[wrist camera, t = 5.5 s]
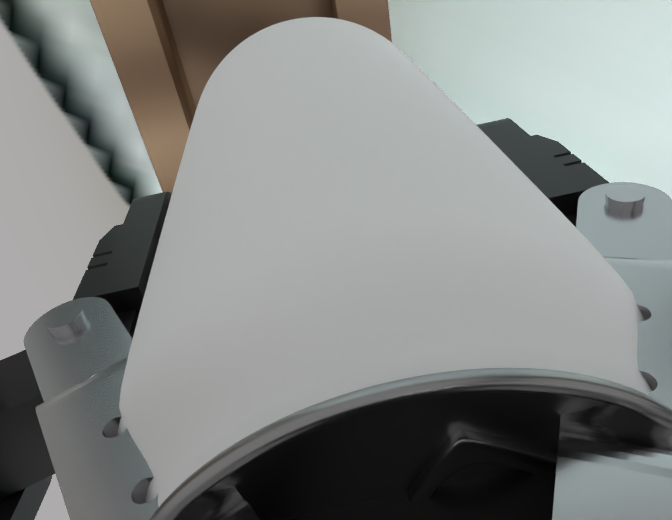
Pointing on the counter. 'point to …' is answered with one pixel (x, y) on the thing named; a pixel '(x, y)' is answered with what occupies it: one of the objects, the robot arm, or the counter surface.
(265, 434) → the can
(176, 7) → the brown open box
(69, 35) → the counter surface
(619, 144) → the counter surface
